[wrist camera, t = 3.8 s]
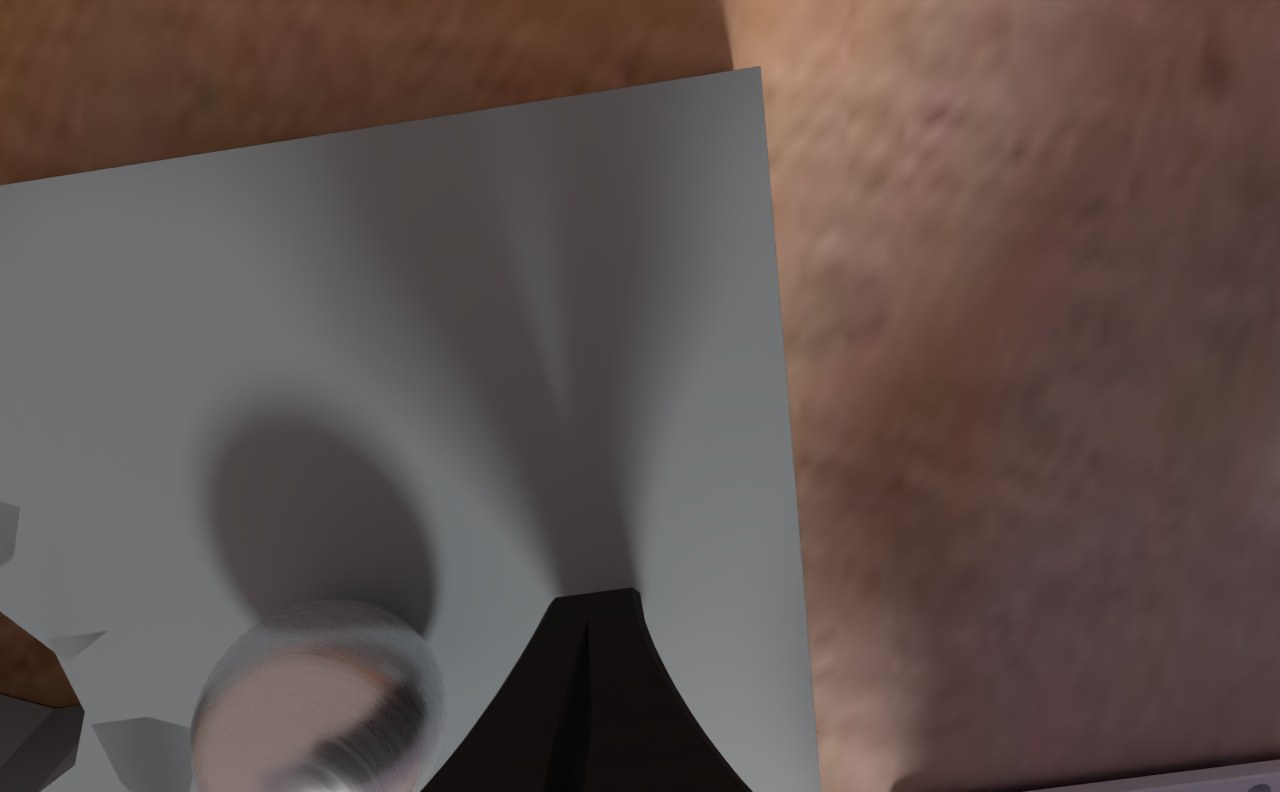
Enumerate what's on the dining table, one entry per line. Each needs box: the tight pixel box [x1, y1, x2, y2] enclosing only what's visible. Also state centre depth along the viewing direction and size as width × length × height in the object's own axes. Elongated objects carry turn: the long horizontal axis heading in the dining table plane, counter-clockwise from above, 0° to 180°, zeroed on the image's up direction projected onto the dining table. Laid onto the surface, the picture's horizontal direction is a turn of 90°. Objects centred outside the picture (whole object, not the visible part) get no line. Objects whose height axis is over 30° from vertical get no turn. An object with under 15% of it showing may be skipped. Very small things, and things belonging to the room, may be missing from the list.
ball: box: [189, 598, 446, 792], centre depth 12 cm, size 4×4×4 cm
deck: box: [0, 66, 821, 792], centre depth 15 cm, size 20×16×2 cm
